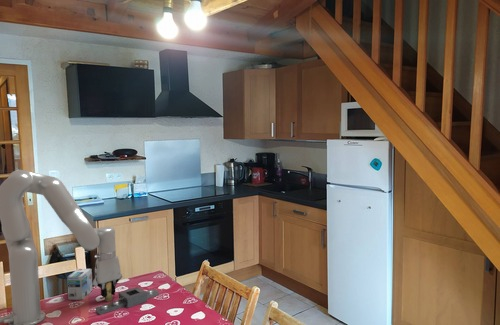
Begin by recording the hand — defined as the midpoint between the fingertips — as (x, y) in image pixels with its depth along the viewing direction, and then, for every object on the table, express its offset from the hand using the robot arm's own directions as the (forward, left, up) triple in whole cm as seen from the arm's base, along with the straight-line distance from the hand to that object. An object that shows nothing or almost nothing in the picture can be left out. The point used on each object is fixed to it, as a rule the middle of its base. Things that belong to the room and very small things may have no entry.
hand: (108, 295), depth 166 cm
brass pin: (0, 0, -2) cm, 2 cm away
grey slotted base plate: (+5, -9, -2) cm, 11 cm away
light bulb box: (-7, +15, -3) cm, 17 cm away
